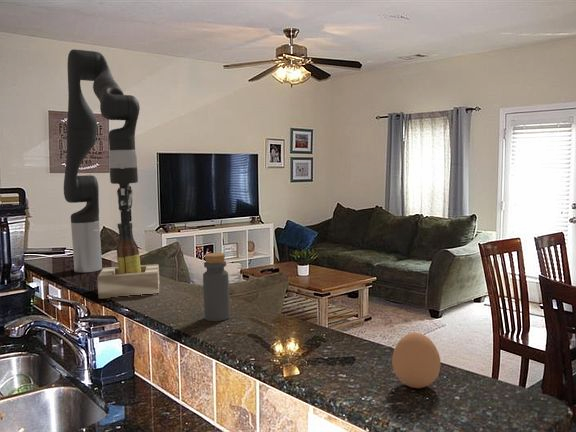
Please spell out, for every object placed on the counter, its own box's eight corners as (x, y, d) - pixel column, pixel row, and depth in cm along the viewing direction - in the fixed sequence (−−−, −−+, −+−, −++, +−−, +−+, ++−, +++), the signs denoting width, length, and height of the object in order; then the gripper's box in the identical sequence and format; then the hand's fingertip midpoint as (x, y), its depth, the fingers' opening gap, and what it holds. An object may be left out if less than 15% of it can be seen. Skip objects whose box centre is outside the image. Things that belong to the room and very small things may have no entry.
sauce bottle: (145, 287, 159) (141, 221, 157) (137, 293, 153) (133, 223, 151) (124, 288, 160) (119, 221, 158) (115, 293, 153) (110, 224, 151)
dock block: (104, 287, 161) (103, 267, 161) (159, 283, 164) (158, 264, 164) (98, 298, 147) (97, 277, 147) (158, 294, 151) (157, 272, 150)
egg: (436, 399, 80) (436, 343, 79) (387, 392, 83) (386, 338, 82) (443, 380, 86) (443, 328, 85) (397, 374, 89) (397, 324, 88)
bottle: (234, 315, 127) (231, 252, 126) (223, 322, 122) (220, 257, 120) (212, 313, 129) (209, 252, 128) (200, 320, 124) (197, 256, 122)
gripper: (112, 166, 158) (115, 221, 160) (106, 167, 145) (110, 227, 146) (138, 165, 160) (141, 220, 162) (135, 166, 146) (138, 225, 148)
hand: (126, 223), depth 154 cm, fingers open, 8 cm apart
